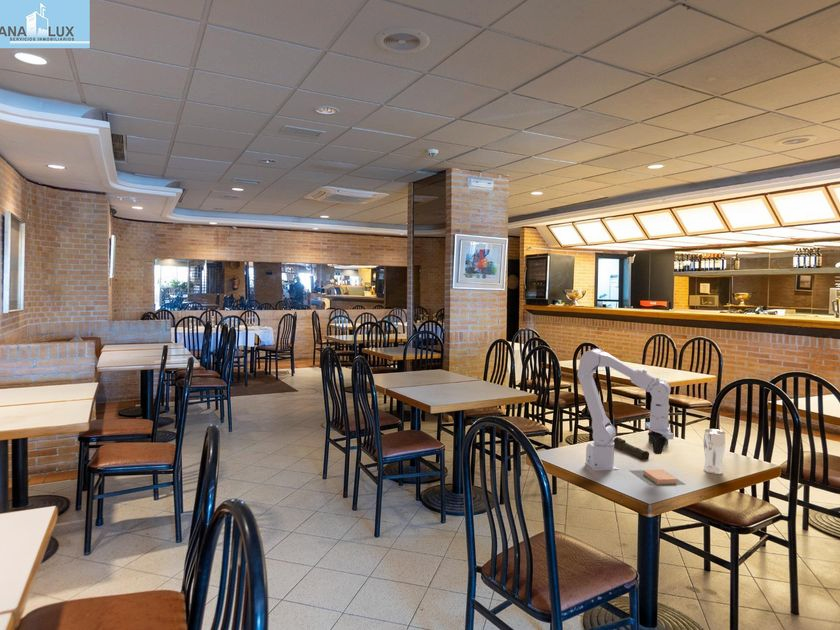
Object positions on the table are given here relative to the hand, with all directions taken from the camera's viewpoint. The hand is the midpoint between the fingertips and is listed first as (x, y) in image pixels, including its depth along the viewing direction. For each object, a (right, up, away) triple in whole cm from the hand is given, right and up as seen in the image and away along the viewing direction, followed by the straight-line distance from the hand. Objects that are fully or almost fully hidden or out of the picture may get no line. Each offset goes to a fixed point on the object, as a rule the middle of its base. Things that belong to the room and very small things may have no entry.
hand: (657, 453), depth 182 cm
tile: (0, -8, +3) cm, 8 cm away
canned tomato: (+20, -7, +42) cm, 47 cm away
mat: (0, -9, +1) cm, 9 cm away
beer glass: (+24, -9, +8) cm, 27 cm away
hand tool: (+1, -8, +28) cm, 29 cm away
